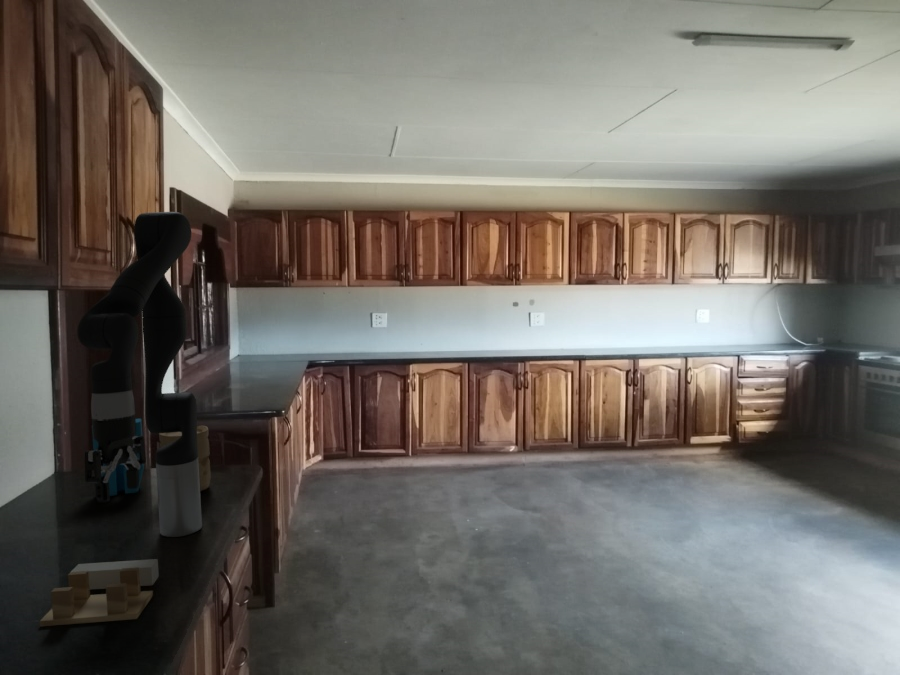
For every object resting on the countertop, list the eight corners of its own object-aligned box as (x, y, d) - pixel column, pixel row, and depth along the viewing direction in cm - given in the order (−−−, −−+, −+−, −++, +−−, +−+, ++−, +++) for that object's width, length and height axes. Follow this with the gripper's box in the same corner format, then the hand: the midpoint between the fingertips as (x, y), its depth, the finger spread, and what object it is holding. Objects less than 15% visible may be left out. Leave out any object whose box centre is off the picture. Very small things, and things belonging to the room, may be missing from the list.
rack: (63, 602, 114) (60, 571, 113) (152, 595, 116) (151, 565, 115) (40, 626, 106) (37, 593, 105) (137, 618, 108) (134, 586, 107)
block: (145, 485, 177) (141, 418, 175) (144, 491, 173) (140, 422, 170) (98, 491, 172) (93, 422, 170) (96, 497, 168) (91, 426, 166)
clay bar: (80, 583, 122) (78, 564, 121) (158, 577, 123) (157, 558, 123) (71, 592, 118) (70, 572, 118) (152, 586, 120) (151, 567, 119)
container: (161, 489, 173) (157, 428, 172) (208, 482, 179) (205, 422, 177) (164, 504, 162) (160, 438, 161) (214, 495, 168) (210, 432, 166)
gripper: (121, 407, 128) (126, 483, 129) (69, 421, 114) (74, 506, 114) (153, 407, 126) (158, 484, 127) (105, 421, 112) (110, 507, 113)
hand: (118, 494), depth 121 cm, fingers open, 8 cm apart
